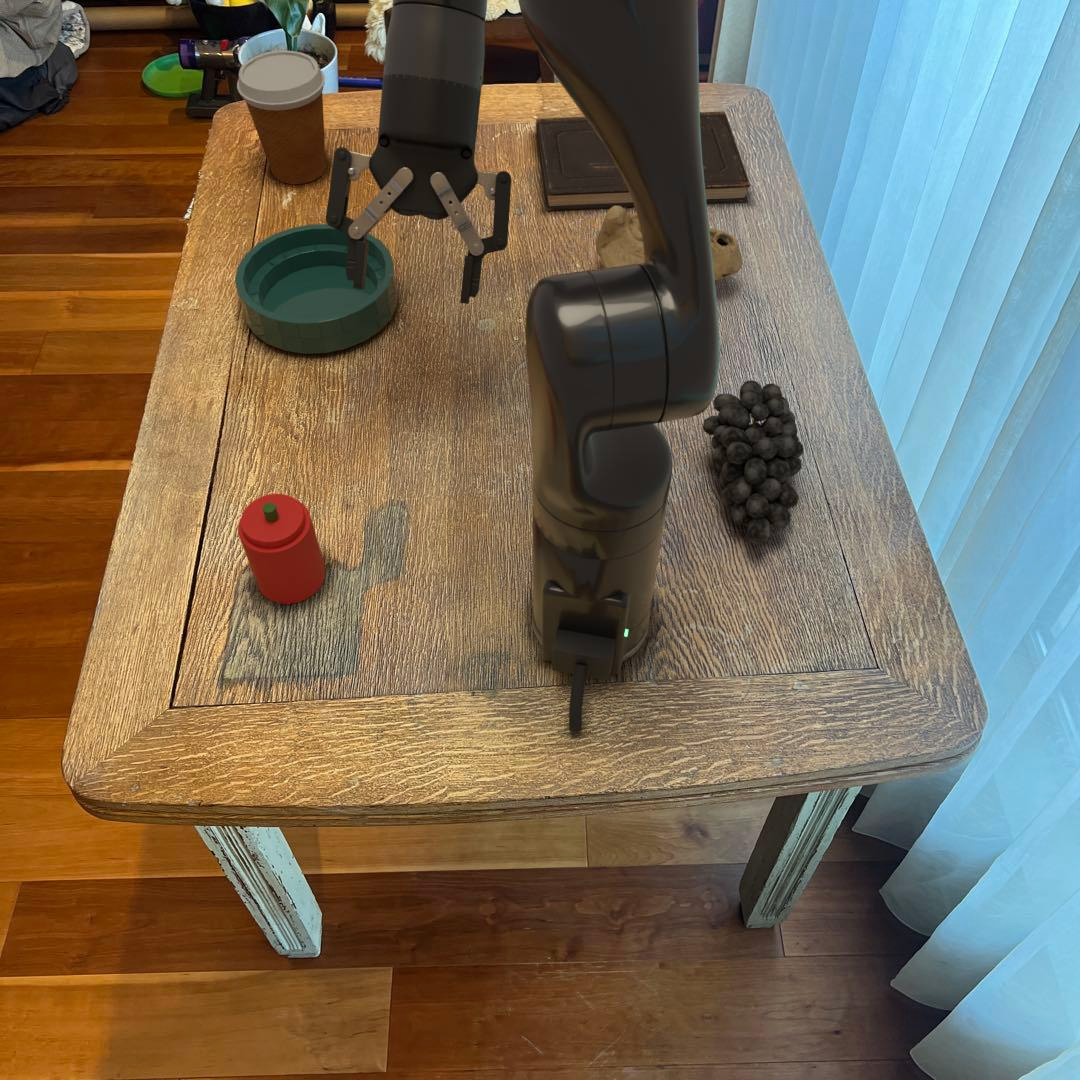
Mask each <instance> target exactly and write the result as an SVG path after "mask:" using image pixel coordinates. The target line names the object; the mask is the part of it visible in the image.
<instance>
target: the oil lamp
mask: <svg viewBox="0 0 1080 1080" xmlns="http://www.w3.org/2000/svg"><path fill="white" fill-rule="evenodd" d="M709 231H710V240H711V250H712V260H713V269H714V279H715V281H718V280H722V279H724V278H727V277H730V276H733V275H735V274H737V273H739V272H740V270H742V266H743V264H744V263H743V256H742V253H741V250H740V248H739V244H738V241H737V239H736V237H735V236H734V235H732V234H730V233H728V232H726V231H723V230H721V229H714V228H710V227H709ZM596 235H597V236H596V238H595V252H596V254H597V255H598V256H599V258H600V260H601V263H602V266H603V268H610V267H618V266H626V265H633V264H636V265H637V264H641V263H644V260H645V255H644V246H643V239H642V233H641V228H640V224H639V220H638V216H637V213H636V212H633V213H632V214H631V215H630V214H627V211H626V209H625V207H621V206H613V207H611V208H608V210H607V212H606V213H605V215H604V217H603V221H602V225H601V227H600V230H599V231H598V233H597V234H596Z"/></svg>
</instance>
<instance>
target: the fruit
mask: <svg viewBox="0 0 1080 1080" xmlns="http://www.w3.org/2000/svg"><path fill="white" fill-rule="evenodd" d="M789 403H790V402H789V401H788V399H787V398H786V397H784V396H783V392H782V390H781V387H780V386H779V385H777V384H775V383H774V382H772V383H766V384H765V385H764V386H762V385H761V384H760V383H759V382H758V381H756V380H747V381H745V382H743V383H742V384H741V386H740V389H739V397H737V396H736V395H734V394H732V393H718V394H717V395H716V396H714V398H713V408H714V410H715V411H716V412H718V414H717V415H711V416H709V417H707V418H705V419H703V423H702V430H703V431H704V433H705V434H706V435H709V436H712V437H711V441H710V442H711V443H710V444H711V447H712V449H713V452H712V460H713V462H714V463H715V469H716V470H717V471H718V472H719V478H718V482H719V484H720V485H721V487H723V488H724V489H723V490H722V491H721V493H720V494H719V496H720V501H721V503H722V505H724V507H726V508H729V509H730V508H731V509H732V510H731V512H730V517H731V519H732V521H733V523H734V524H736V525H739V526H741V527H742V526H744V527H746V528H747V531H746V537H747V538H748V541H749V542H750V543H752V544H755V545H761V544H765V543H766V542H767V540H768V539H769V538H770V536H771V534H772V532H773V528H775V529H778V530H779V529H781V530H782V529H784V528H786V527H787V526H788V525H789V524H790V522H791V519H792V517H791V516H792V514H791V511H790V510H789V509H792V508H795V507H797V504H798V503H799V499H800V496H799V494H798V492H797V490H796V489H795V488H794V487H793V486H792V479H791V477H793V476H795V475H797V474H798V473H799V472H801V470H802V467H803V465H802V460H801V459H800V457H801V456H802V455H803V453H804V449H805V448H804V445H803V443H802V442H801V441H800V438H799V436H798V427H797V423H796V415H795V414H794V411H793V412H792V411H791V410H790V404H789ZM751 418H752V419H751ZM751 422H752V423H751ZM759 422H761V423H759ZM772 527H773V528H772Z"/></svg>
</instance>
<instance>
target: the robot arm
mask: <svg viewBox="0 0 1080 1080" xmlns="http://www.w3.org/2000/svg"><path fill="white" fill-rule="evenodd" d="M517 1H518V6H519V9H520V14H521V17H522V20H523V22H524V25H525V27H526V30H527V31H528V34H529V35H530V38H531V39H532V41H533V44H534V45H535V47H536V48H537V50H538V52H539V54H540V55H541V57H542V58H543V59H544V62H545V63H546V65H547V66H548V67H549V69H550V70H551V73H553V75H554V77H555V78H556V79H557V81H558V82H559V83H560V85H561V86H562V88H563V89H564V90H565V92H566V93H567V94H568V96H569V97H570V99H571V100H572V101H573V103H574V104H575V105H576V107H577V108H578V110H580V112H581V113H582V115H583V117H585V118H586V119H587V120H588V122H589V123H590V124H591V126H592V127H593V129H594V130H595V132H596V133H597V135H598V136H599V138H600V139H601V141H602V142H603V144H604V145H605V147H606V148H607V150H608V152H609V153H610V155H611V157H612V159H613V160H614V162H615V164H616V166H617V167H618V169H619V171H620V173H621V175H622V177H623V179H624V181H625V183H626V185H627V188H628V190H629V193H630V195H631V197H632V200H633V203H634V206H635V207H634V209H635V213H637V216H638V220H639V224H640V228H641V233H642V239H643V246H644V255H645V260H644V263H641V264H637V265H636V264H633V265H626V266H618V267H610V268H604V267H603V268H596V269H589V270H581V271H573V272H572V271H571V272H566V273H559V274H552V275H549V276H546V277H543V278H541V279H540V280H538V282H536V284H535V285H534V287H533V288H532V290H531V293H530V295H529V296H528V300H527V305H526V310H525V323H524V333H525V353H526V364H527V375H528V376H527V377H528V385H529V397H530V399H529V401H530V422H531V424H530V429H531V430H530V431H531V455H532V508H531V509H532V512H531V513H532V607H531V608H532V609H531V622H532V623H531V624H532V629H533V632H534V635H535V638H536V639H537V641H538V642H539V644H540V645H541V660H543V661H545V662H549V663H550V662H551V670H552V671H555V672H561V673H566V674H572V681H571V689H570V699H569V707H568V708H569V709H568V730H569V732H571V733H575V734H577V733H580V732H582V730H583V729H582V728H583V703H584V695H585V694H584V693H585V687H586V679H587V678H592V679H597V680H603V681H610V678H611V674H615V675H617V674H620V672H621V668H622V664H623V663H624V662H626V661H627V660H628V659H630V658H631V657H632V656H634V655H635V654H636V653H637V652H638V651H639V649H640V648H642V645H643V644H644V643H645V640H646V638H647V636H648V633H649V630H650V629H649V628H650V620H651V608H652V601H653V594H654V588H655V583H656V582H655V581H656V575H657V570H658V563H659V557H660V550H661V543H662V539H663V532H664V525H665V519H666V515H667V508H668V502H669V495H670V489H671V482H672V477H673V469H674V467H673V465H674V463H673V455H672V451H671V447H670V444H669V441H668V440H667V438H666V436H665V434H664V433H663V432H662V430H661V429H660V428H659V427H658V426H657V425H656V424H661V423H667V422H672V421H678V420H684V419H688V418H689V419H690V418H693V417H695V416H699V415H700V414H702V413H704V412H705V411H707V409H708V408H709V406H710V405H711V402H712V401H713V400H714V398H715V393H716V390H717V386H718V380H719V373H720V353H721V351H720V349H721V347H720V346H721V345H720V324H719V314H718V303H717V302H718V301H717V290H716V280H715V279H714V269H713V260H712V250H711V240H710V231H709V228H710V222H709V212H708V204H707V202H706V192H705V182H704V171H703V160H702V145H701V128H700V112H701V109H700V68H699V67H700V66H699V61H700V60H699V0H517ZM391 6H392V8H391V14H390V19H389V25H388V29H387V33H386V40H385V49H384V61H383V73H382V83H381V84H382V85H381V97H380V109H379V121H378V131H377V132H378V133H377V144H376V146H375V148H374V151H373V152H372V154H371V155H368V154H364V153H359V152H354V151H351V150H350V149H348V148H346V147H343V146H341V147H340V146H339V147H337V148H336V149H335V151H334V154H333V160H332V161H333V162H332V168H331V169H332V170H331V177H330V186H329V190H328V191H329V192H328V198H327V207H326V213H325V214H326V215H325V222H326V224H328V225H329V226H330V227H333V228H335V229H337V230H339V231H341V232H343V233H344V234H345V235H346V236H347V238H348V252H347V266H346V275H347V279H348V280H352V281H354V282H353V288H354V289H364V288H365V281H366V269H367V257H368V245H369V242H367V241H366V236H367V235H368V234H370V233H371V231H373V229H374V228H375V227H376V226H377V225H378V224H379V223H380V222H381V221H382V220H383V219H384V218H385V217H386V216H387V215H388V214H389V213H390V212H391V210H392V211H394V212H395V213H396V214H398V215H399V216H405V217H406V216H407V217H418V216H421V217H424V218H425V219H429V220H434V221H442V220H445V219H447V218H448V217H449V218H450V220H451V221H452V223H453V225H454V227H455V229H456V230H457V231H458V233H459V235H460V237H461V239H462V241H463V242H464V244H465V246H466V248H467V254H466V255H464V262H463V270H462V280H461V288H460V297H459V298H460V299H459V304H463V305H469V304H470V298H476V297H477V295H478V293H479V292H480V284H481V276H482V265H483V259H484V257H485V256H486V255H488V254H491V253H495V252H501V251H504V250H505V249H506V248H507V247H508V242H509V223H510V210H511V209H510V207H511V192H512V175H511V173H510V172H508V171H506V170H501V171H499V172H493V171H482V170H478V168H477V167H476V165H475V151H476V144H477V143H476V142H477V134H478V125H479V117H480V115H479V114H480V107H481V104H480V103H481V97H482V88H483V86H484V81H485V74H484V68H485V60H486V58H485V57H486V41H485V40H486V39H485V36H486V33H485V32H486V18H487V10H488V9H487V7H488V0H392V5H391ZM367 169H369V172H370V173H371V175H372V177H373V179H374V181H375V183H376V184H377V186H378V188H379V190H380V191H379V192H378V193H377V194H376V196H374V198H373V199H372V200H371V201H370V202H369V203H368V204H367V205H366V207H365V209H364V210H362V212H361V213H360V214H359V215H357V218H355V219H353V218H351V217H349V216H347V215H348V208H349V199H350V193H351V185H352V181H353V182H355V181H358V180H359V179H360V178H361V177H362V173H363V171H365V170H367ZM477 185H480V186H481V187H482V188H483V189H484V194H485V197H486V198H487V199H488V200H489V201H494V205H493V206H494V207H493V224H492V236H487V237H483V238H481V237H480V236H479V233H478V232H477V230H476V228H475V227H474V225H473V222H472V221H471V219H470V218H469V216H468V214H467V212H466V210H465V209H464V207H463V205H462V203H463V202H464V200H466V198H467V197H468V196H469V195H470V194H471V192H472V191H473V190H474V189H475V188H476V187H477Z"/></svg>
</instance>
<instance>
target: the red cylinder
mask: <svg viewBox="0 0 1080 1080" xmlns="http://www.w3.org/2000/svg"><path fill="white" fill-rule="evenodd" d="M310 513H311V512H310V510H309V509H308V508H307V506H306V505H305V504H304V503H302V502H300V500H298V499H296V498H294V497H293V496H291V495H288V494H284V493H269V494H265V495H262V496H260V497H258V498H256V499H254V500H252V501H251V502H249V504H248V505H247V506H246V507H245V509H244V510H243V512H242V515H241V516H240V519H239V521H238V525H237V534H238V537H239V541H240V543H241V545H242V547H243V550H244V553H245V556H246V558H247V561H248V564H249V566H250V569H251V571H252V574H253V577H254V579H255V583H256V585H257V587H258V590H259V592H260V593H261V594H262V595H263V596H264V597H265V598H266V599H268V600H269V601H271V602H274V603H277V604H283V605H287V604H288V605H290V604H296V603H300V602H303V601H305V600H307V599H309V598H311V597H312V596H313V595H314V594H316V593H317V592H318V591H319V590H320V588H321V587H322V586H323V584H324V581H325V578H326V567H325V563H324V558H323V555H322V551H321V549H320V545H319V541H318V538H317V533H316V531H315V527H314V524H313V520H312V516H311V514H310Z"/></svg>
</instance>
